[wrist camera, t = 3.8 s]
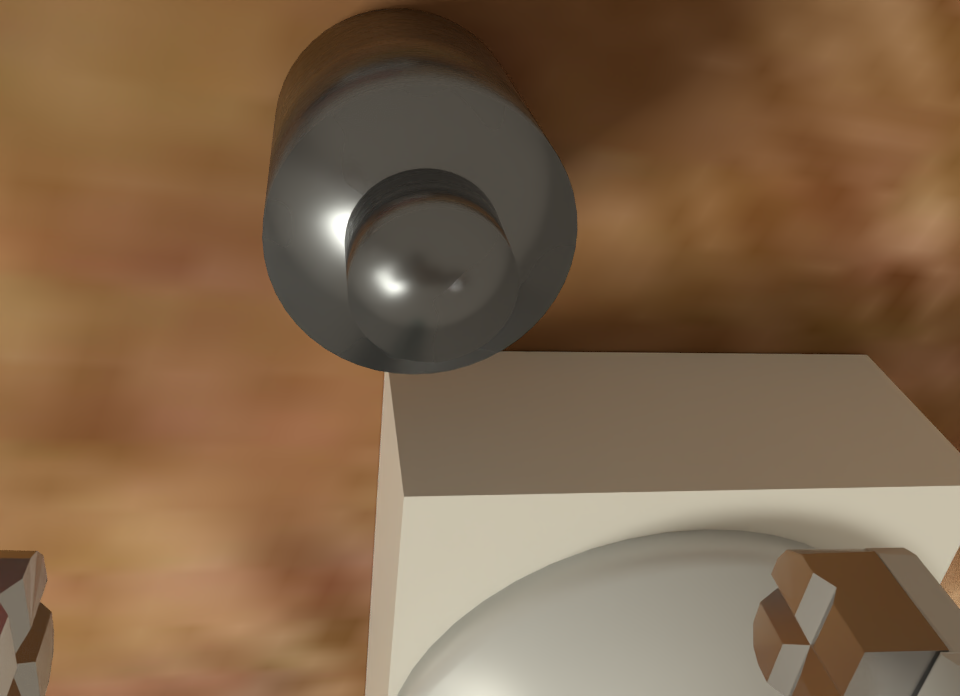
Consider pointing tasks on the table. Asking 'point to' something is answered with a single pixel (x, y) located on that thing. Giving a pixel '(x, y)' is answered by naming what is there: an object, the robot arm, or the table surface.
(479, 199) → the calibration weight
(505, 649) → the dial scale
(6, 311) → the table surface
